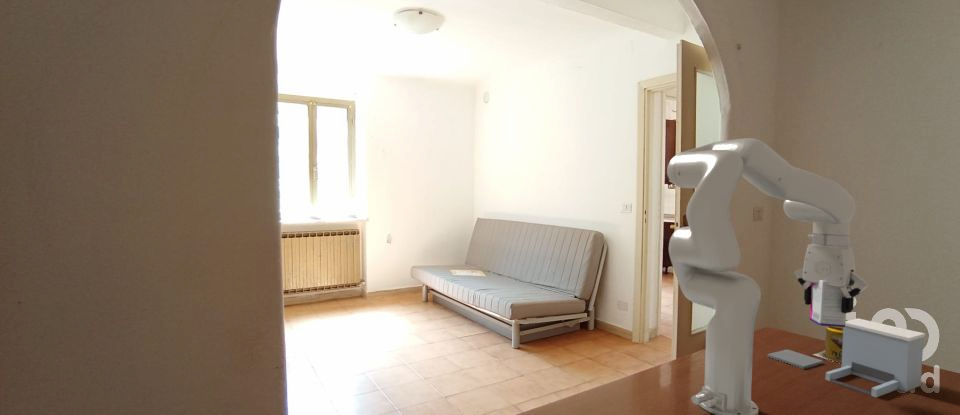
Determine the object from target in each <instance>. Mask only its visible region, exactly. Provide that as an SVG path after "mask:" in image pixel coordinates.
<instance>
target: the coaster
mask: <svg viewBox="0 0 960 415" xmlns="http://www.w3.org/2000/svg"><path fill="white" fill-rule="evenodd" d="M766 355H767V358H769V357H770V359H772V358H773V360H775V359H776V360H775V361H778V360H779V361H778V362H781V361H782V362H781V363H783V362H785V363H784V364H786V363H788V364H787V365H789V364H791V365H790V366H792V365H793V366H792V367H795V366H796V367H795V368H798V367H799V369H801V368H802V369H801V370H805V368H806V369H809V368H813V367H816V366H819V364H820V365H823V364H824V360H822V359H819V358H816V357H812V356H809V355H806V354H803V353H800V352H798V351H794V350H791V349H788V348H787V349H783V350H779V351H775V352H772V353H767V354H766Z"/></svg>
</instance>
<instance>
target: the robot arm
mask: <svg viewBox="0 0 960 415" xmlns="http://www.w3.org/2000/svg"><path fill="white" fill-rule="evenodd" d="M666 170H667V171H666V174H667V177H668V179H669V181H670V182H671V183H672V185H674V186H676V187H677V188H681V189H695V190H694V192H693V193H692V195H691V197H690V199H689V201H688V203H687V206H686V210H685V214H686V215H685V216H686V221H687V226H682V227H679V228H678V229H676V230H675V231H673V233H672V235H671V236H670V238H669V241H668V242H669V243H668V254H669V259H670V262H671V265H672V267H673V271H674V273H675V274H674V275H675V276H676V280H677V283H678V285H679V287H680V290H681V293H682V294H683V296H684V297H685V298H686V299H687V300H688V301H690V302H692V303H694V304H697V305H700V306H702V307H706V308H709V309H712V310H715V313H714V315H713V316H712V318H710V320H709V322H708V323H707V326H706V330H705V353H704V354H705V356H704V357H705V359H704V382H703V383H704V386H703V385H702V387H701V391H699V392H698V393H696V394H694V395H692V396H691V398H690V400H691V402H692V403H693V404H694V405H699V407H700V408H702V409H703V410H705V411H706V412H709V413H711V414H713V415H759V407H758V405H757V404H756V402H754V401H753V400H752V382H753V381H752V380H753V379H752V378H753V356H754V332H755V322H756V318H757V317H756V316H757V312H758V310H759V306H760V302H761V297H762V296H761V293H762V292H761V288H760V286H759V284H758V283H757V281H755V279H753V278H752V277H750V276H748V275H746V274H743V273H740V272H737V271H734V270H735V269H737V267H738V266H739V265H740V262H741V258H742V257H741V251H740V246H739V243H738V239H737V236H736V232H735V229H734V225H733V222H732V220H731V214H730V210H729V206H730V200H731V199H732V198H731V197H732V196H733V193H734V190H735V189H736V187H737V185H738V184H739V182H740V180H741V178H743V179H744V180H745V181H747V182H748V183H750V184H751V185H752V186H754V187H755V188H756V189H757V190H759V191H760V192H762V194H764V195H766V196H769V197H772V198H775V199H778V200H779V199H780V200H784V201H783V205H782V206H783V207H782V208H783V211H784V214H785V215H786V217H788V218H789V219H791V220H794V221H798V222H804V223H812V232H811V234H810V233H809V234H807V237H806V238H807V239H808V240H811V243H809V244H808V245H807V248H806V252H805V255H804V261H803V267H800V268H799V269H796V270H794V271H793V275H794V276H795V277H796V279H797V282H798V283H799V284H800V285H801V286H802V289H804V295H803V300H804V304H805V305H807V306H808V305H809V306H810V304H811V286H812V283H816V284H818V283H819V281H820V280H822V281H827V282H828V285H829V286H832V287H839V288H840V289H841V291H842V292H843V294H844V297H842V306H841V312H842V313H846V314H848V313H849V314H850V313H852V311H853V309H854V298H855V297H857V296H858V295H859V294H861V293H862V292H863V291H864V290H865V289H866V288H868V287H869V285H870V284H869V282H867V281H866V280H865V279H864V278H862V277H861V276H860V275H858V274H857V273H856V263H855V261H856V260H855V255H854V251H853V248H852V247H850V235H851V234H850V233H851V220H852V219H853V217H854V216H855V213H856V211H857V210H856V208H857V207H856V202H855V199H854V198H853V196H852V195H851V194H850V193H849V192H848V191H847V190H846V189H845V188H844V187H843V186H841V185H840V184H839V183H838V182H836V181H834V180H832V179H831V178H828V177H824V176H822V175H819V174H816V173H813V172H811V171H809V170H805V169H802V168H799V167H796V166H793V165H791V163H789V162H788V161H787V160H786V159H785V158H783V157H782V156H780V155H779V154H778V153H777V151H775V150H773V149H772V148H771V147H770V146H769V145H767V144H766V143H765V142H764V141H762V140H760V139H756V138H752V137H751V138H749V137H746V138H745V137H744V138H735V139H728V140H727V139H726V140H717V141H713V142H711V143H709V144H705V145H701V146H699V147H695V148H692V149H688V150H684V151H681V152H679V153H677V154H676V155H674V156H673V157H672V158H671V159H670V161H669V163H668V165H667V169H666ZM855 284H857V285H856V286H855V288H853V286H854V285H855Z"/></svg>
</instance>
